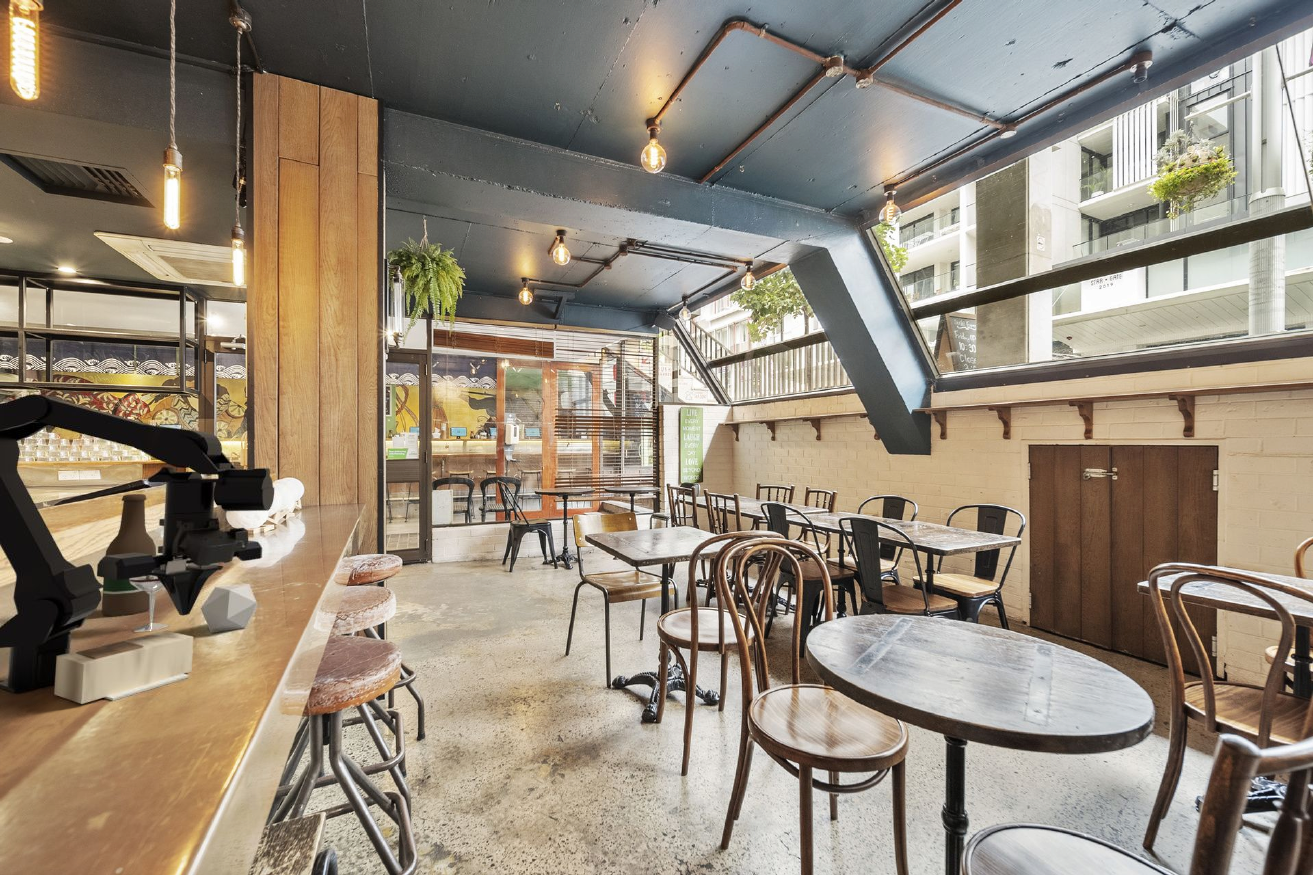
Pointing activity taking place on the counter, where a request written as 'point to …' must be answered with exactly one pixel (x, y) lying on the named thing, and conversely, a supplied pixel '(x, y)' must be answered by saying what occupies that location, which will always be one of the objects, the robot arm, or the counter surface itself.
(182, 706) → the counter surface
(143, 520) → the beer bottle
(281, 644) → the counter surface
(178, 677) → the mat
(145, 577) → the wineglass
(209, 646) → the counter surface
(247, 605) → the die
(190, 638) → the birch block
